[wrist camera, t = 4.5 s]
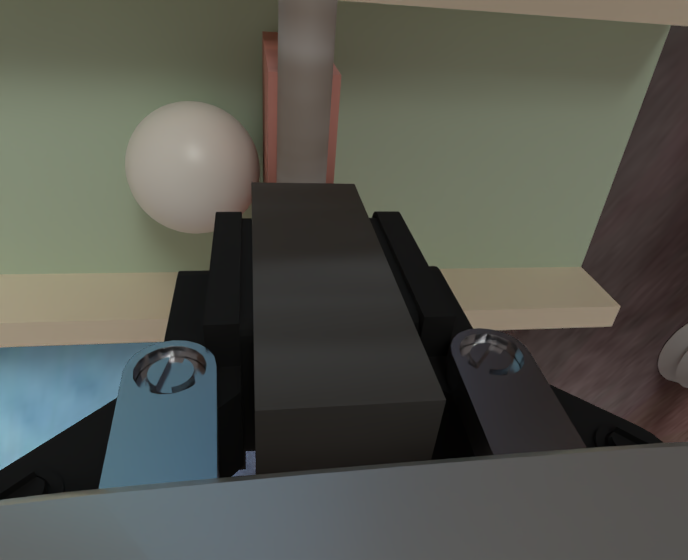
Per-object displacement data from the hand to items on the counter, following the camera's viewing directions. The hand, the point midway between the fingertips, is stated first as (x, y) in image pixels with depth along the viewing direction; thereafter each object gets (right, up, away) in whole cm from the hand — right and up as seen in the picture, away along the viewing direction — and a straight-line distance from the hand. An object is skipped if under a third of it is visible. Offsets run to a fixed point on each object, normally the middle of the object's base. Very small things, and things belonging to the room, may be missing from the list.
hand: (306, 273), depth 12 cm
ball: (-4, +3, +5) cm, 7 cm away
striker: (-1, +4, +6) cm, 8 cm away
